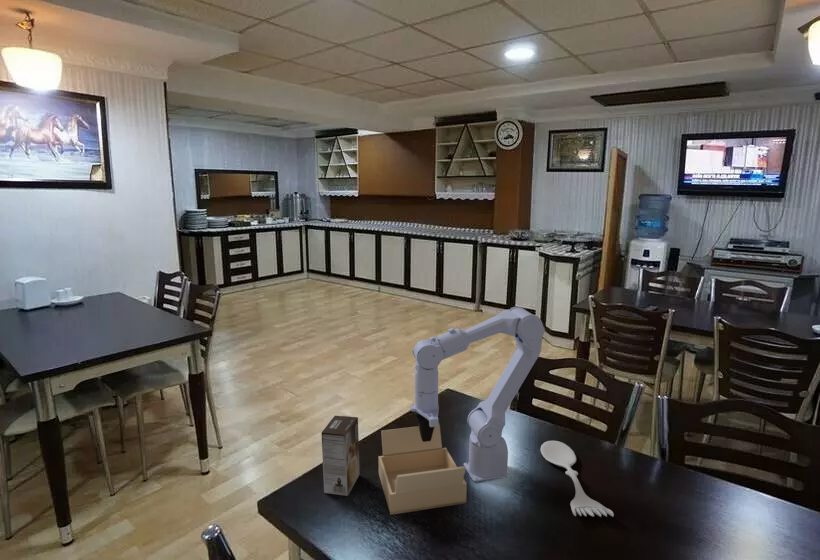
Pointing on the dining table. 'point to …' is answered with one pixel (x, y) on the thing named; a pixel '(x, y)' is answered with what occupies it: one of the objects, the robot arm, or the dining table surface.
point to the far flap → (408, 440)
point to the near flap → (429, 479)
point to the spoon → (566, 458)
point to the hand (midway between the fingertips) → (426, 440)
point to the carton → (413, 464)
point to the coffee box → (340, 455)
